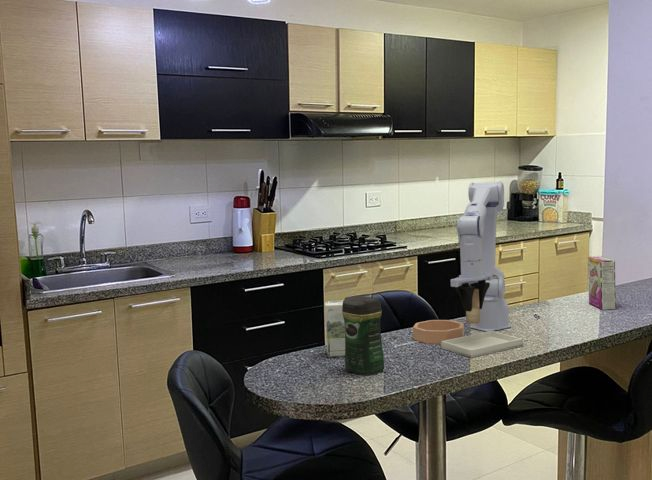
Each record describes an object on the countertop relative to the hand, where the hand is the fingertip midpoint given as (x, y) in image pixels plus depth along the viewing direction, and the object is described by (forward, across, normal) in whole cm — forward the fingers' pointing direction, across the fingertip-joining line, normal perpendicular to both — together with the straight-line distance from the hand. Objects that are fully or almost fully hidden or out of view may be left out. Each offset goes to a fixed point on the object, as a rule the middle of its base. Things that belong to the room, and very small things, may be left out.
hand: (473, 309), depth 175 cm
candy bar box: (+10, -65, -2) cm, 66 cm away
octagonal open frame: (+10, 0, -14) cm, 17 cm away
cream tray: (+10, 0, +3) cm, 10 cm away
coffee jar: (+10, +35, -4) cm, 37 cm away
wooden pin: (+3, 0, 0) cm, 3 cm away
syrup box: (+10, +31, -20) cm, 39 cm away
